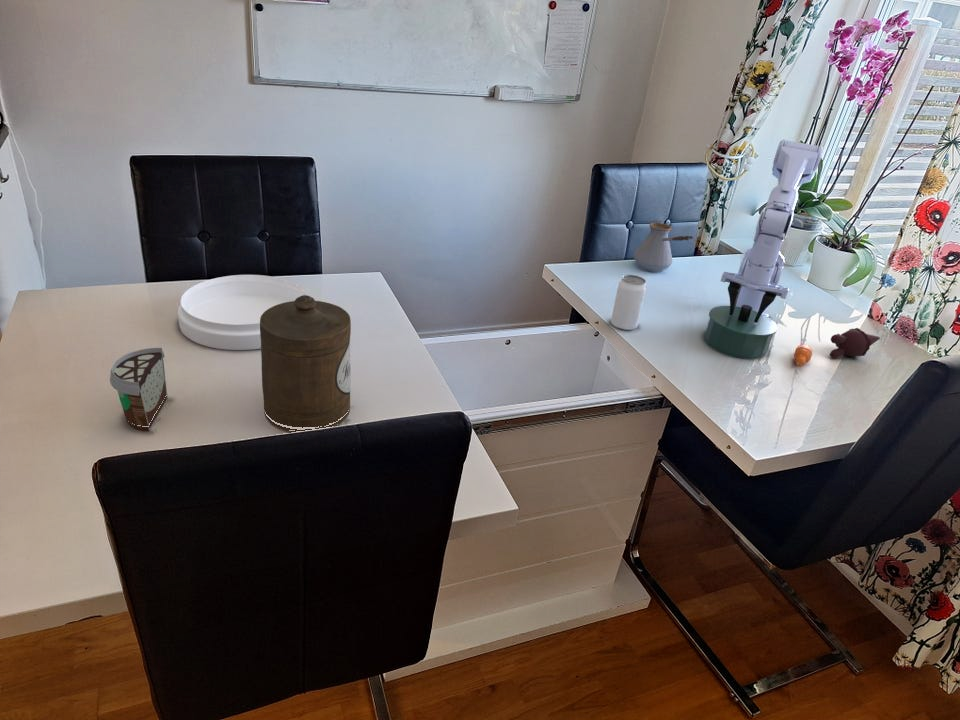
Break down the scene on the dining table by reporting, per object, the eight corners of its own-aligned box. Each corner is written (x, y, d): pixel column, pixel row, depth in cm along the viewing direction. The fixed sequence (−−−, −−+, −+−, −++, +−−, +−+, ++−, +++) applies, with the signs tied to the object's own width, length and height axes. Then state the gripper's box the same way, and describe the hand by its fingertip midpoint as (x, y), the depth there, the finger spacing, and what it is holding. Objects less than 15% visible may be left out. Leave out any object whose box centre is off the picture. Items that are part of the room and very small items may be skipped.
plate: (296, 290, 161) (295, 269, 159) (324, 341, 141) (323, 318, 138) (174, 301, 150) (171, 278, 147) (185, 358, 129) (182, 333, 127)
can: (637, 332, 160) (648, 286, 154) (609, 328, 160) (619, 282, 155) (636, 321, 165) (647, 276, 159) (610, 317, 166) (620, 272, 160)
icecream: (867, 320, 164) (819, 329, 159) (894, 327, 157) (845, 336, 153) (864, 347, 166) (817, 357, 161) (891, 355, 159) (842, 365, 155)
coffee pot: (624, 260, 203) (635, 212, 196) (657, 259, 207) (668, 212, 199) (662, 289, 186) (675, 237, 178) (696, 287, 189) (711, 237, 182)
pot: (721, 325, 169) (728, 303, 166) (776, 347, 160) (784, 325, 157) (693, 340, 159) (699, 317, 156) (749, 365, 151) (757, 341, 148)
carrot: (795, 352, 159) (798, 339, 157) (811, 356, 157) (815, 342, 156) (789, 368, 152) (793, 354, 150) (806, 372, 150) (810, 358, 148)
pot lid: (726, 304, 166) (731, 288, 164) (786, 328, 157) (792, 311, 155) (696, 319, 157) (701, 302, 154) (758, 345, 148) (764, 327, 145)
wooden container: (363, 421, 117) (365, 308, 106) (280, 443, 110) (273, 323, 99) (331, 380, 128) (330, 274, 117) (253, 398, 120) (244, 285, 109)
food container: (133, 394, 117) (124, 344, 113) (170, 395, 118) (163, 346, 113) (106, 436, 107) (94, 382, 102) (146, 437, 108) (137, 384, 103)
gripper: (725, 259, 149) (708, 313, 156) (792, 276, 144) (773, 332, 150) (731, 251, 155) (715, 304, 161) (797, 267, 149) (777, 322, 156)
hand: (743, 317), depth 156 cm, fingers open, 5 cm apart
